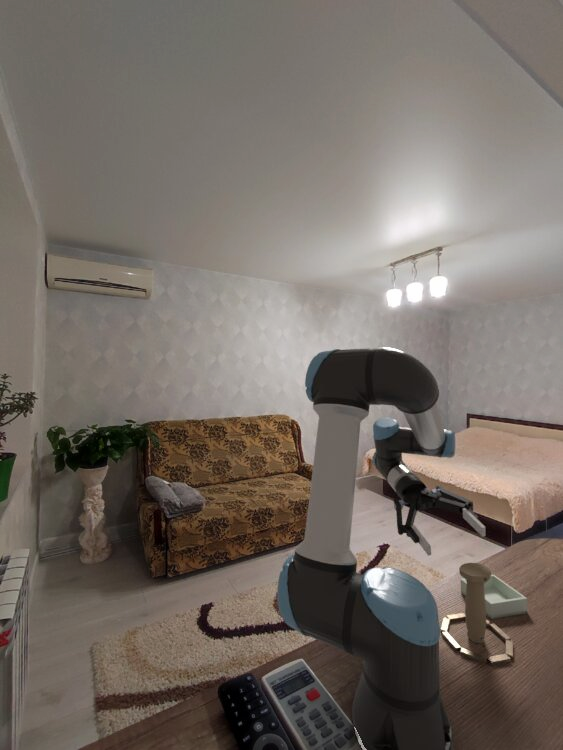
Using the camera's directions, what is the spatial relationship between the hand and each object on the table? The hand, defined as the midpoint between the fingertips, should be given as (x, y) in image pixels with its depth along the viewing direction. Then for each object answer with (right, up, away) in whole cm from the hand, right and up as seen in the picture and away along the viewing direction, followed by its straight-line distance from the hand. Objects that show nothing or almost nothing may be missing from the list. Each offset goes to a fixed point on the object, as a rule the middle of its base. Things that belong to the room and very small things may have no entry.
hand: (457, 541), depth 76 cm
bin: (+13, -20, +9) cm, 25 cm away
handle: (+2, -20, -3) cm, 20 cm away
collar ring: (+2, -20, -3) cm, 20 cm away
